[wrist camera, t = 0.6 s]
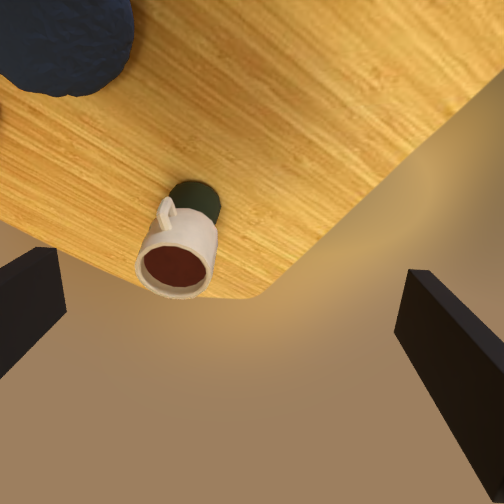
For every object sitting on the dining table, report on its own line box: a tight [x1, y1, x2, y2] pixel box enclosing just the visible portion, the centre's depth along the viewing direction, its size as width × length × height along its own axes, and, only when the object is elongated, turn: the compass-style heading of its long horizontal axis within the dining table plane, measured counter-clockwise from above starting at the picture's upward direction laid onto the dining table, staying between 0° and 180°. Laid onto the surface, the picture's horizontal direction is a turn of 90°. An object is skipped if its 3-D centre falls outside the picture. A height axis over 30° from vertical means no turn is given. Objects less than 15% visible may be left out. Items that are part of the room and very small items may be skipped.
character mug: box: [135, 182, 221, 299], centre depth 38 cm, size 11×7×13 cm, turn 10°
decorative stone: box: [0, 0, 134, 97], centre depth 27 cm, size 12×12×10 cm
